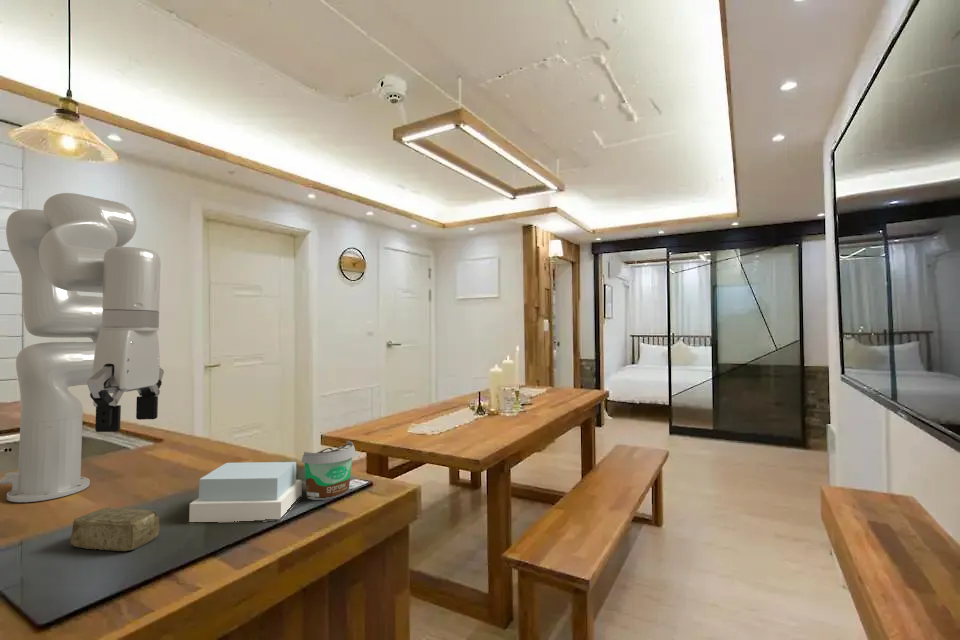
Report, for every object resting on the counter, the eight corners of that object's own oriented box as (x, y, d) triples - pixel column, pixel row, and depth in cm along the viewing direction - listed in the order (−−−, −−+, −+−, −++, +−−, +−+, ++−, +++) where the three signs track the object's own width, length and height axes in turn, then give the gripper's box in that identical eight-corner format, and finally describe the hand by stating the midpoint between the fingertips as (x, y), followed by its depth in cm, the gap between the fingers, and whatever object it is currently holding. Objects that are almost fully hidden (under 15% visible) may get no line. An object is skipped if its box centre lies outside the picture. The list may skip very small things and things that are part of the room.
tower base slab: (189, 526, 80) (189, 503, 80) (222, 500, 92) (222, 480, 92) (280, 523, 81) (281, 502, 81) (301, 498, 93) (301, 479, 93)
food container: (320, 508, 87) (321, 457, 87) (300, 501, 91) (301, 452, 91) (367, 489, 98) (367, 443, 98) (347, 484, 101) (348, 439, 101)
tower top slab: (198, 501, 81) (199, 479, 81) (226, 482, 91) (226, 462, 91) (277, 499, 82) (277, 478, 82) (295, 481, 92) (296, 461, 92)
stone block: (132, 555, 69) (132, 522, 69) (65, 551, 70) (66, 519, 70) (162, 537, 75) (163, 507, 75) (100, 534, 76) (101, 504, 76)
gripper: (139, 322, 82) (137, 415, 82) (64, 320, 65) (61, 437, 65) (183, 323, 83) (181, 414, 83) (120, 321, 66) (117, 436, 65)
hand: (128, 424), depth 74 cm, fingers open, 9 cm apart
